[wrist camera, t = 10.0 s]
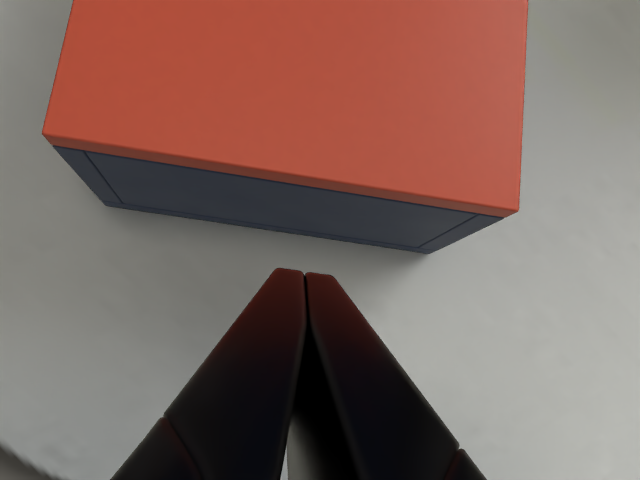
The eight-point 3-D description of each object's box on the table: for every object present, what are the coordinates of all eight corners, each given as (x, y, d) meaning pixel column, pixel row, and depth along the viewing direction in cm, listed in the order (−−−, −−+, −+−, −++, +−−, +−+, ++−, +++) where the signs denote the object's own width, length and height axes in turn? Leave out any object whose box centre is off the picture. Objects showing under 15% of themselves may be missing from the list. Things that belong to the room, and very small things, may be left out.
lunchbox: (172, -125, 24) (151, -288, 18) (455, -62, 25) (526, -192, 19) (104, 205, 21) (50, 146, 15) (430, 254, 22) (505, 218, 16)
